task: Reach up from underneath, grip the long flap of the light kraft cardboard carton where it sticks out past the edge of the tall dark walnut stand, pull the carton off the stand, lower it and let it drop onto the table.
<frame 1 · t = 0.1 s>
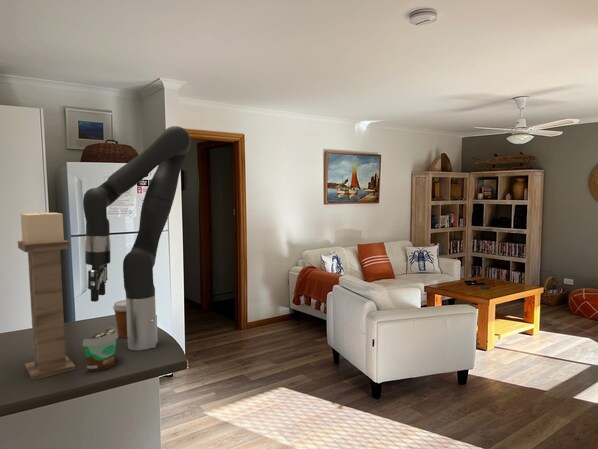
hand: (98, 298, 146), 17 cm above the counter, tool pointing down, fingers open, 8 cm apart
disposable coffee cup: (128, 335, 161), on the counter
food container: (106, 366, 133), on the counter
walnut stand: (50, 368, 131), on the counter
cardboard carton: (43, 241, 129), point 38 cm above the counter, touching walnut stand
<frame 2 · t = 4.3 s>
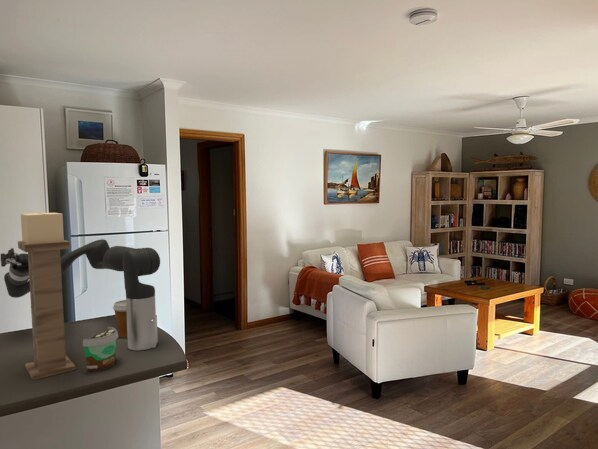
hand: (27, 249, 148), 33 cm above the counter, tool pointing upward, fingers open, 8 cm apart
nothing on the counter moved.
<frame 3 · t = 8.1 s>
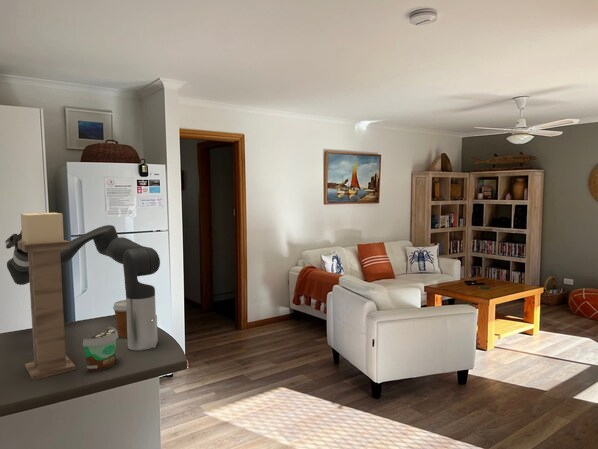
hand: (34, 230, 138), 40 cm above the counter, tool pointing upward, fingers closed on cardboard carton, 4 cm apart
cardboard carton: (42, 241, 129), point 38 cm above the counter, touching gripper, walnut stand
everything else where it was.
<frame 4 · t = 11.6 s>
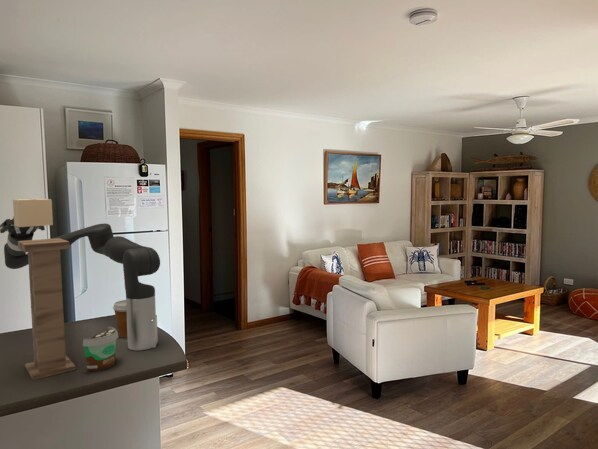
hand: (26, 215, 147), 44 cm above the counter, tool pointing upward, fingers closed on cardboard carton, 4 cm apart
cardboard carton: (33, 225, 138), point 42 cm above the counter, touching gripper
everything else where it was.
when the fingers open (31 cm above the counter, at t = 15.4 s): cardboard carton drops 29 cm, on the counter.
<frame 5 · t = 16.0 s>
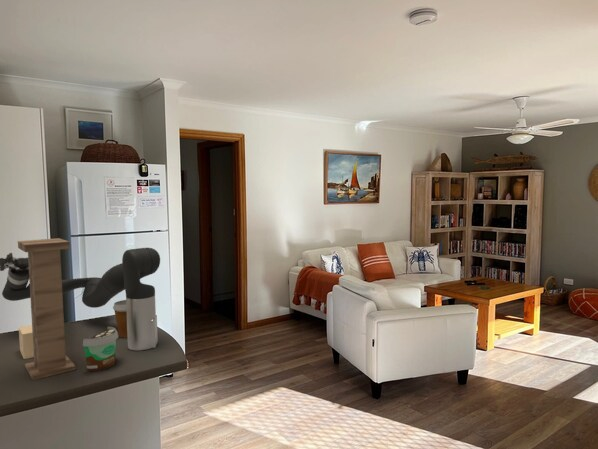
hand: (26, 254, 151), 31 cm above the counter, tool pointing upward, fingers open, 8 cm apart
cardboard carton: (38, 351, 145), on the counter
everything else where it was.
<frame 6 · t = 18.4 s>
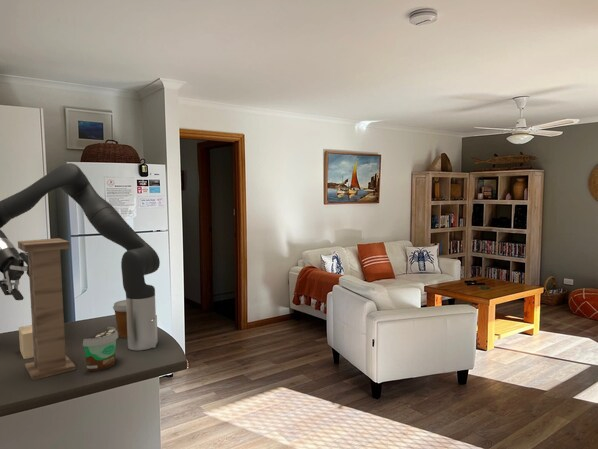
hand: (28, 289, 140), 21 cm above the counter, tool tilted 50°, fingers open, 8 cm apart
nothing on the counter moved.
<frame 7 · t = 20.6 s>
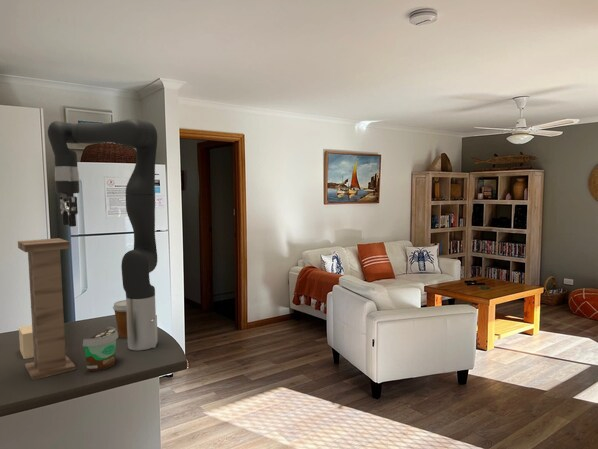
hand: (69, 225, 157), 40 cm above the counter, tool pointing down, fingers open, 8 cm apart
nothing on the counter moved.
at the end: cardboard carton inside the target area (1.5 cm from its centre), on the counter; the gripper is holding nothing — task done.
